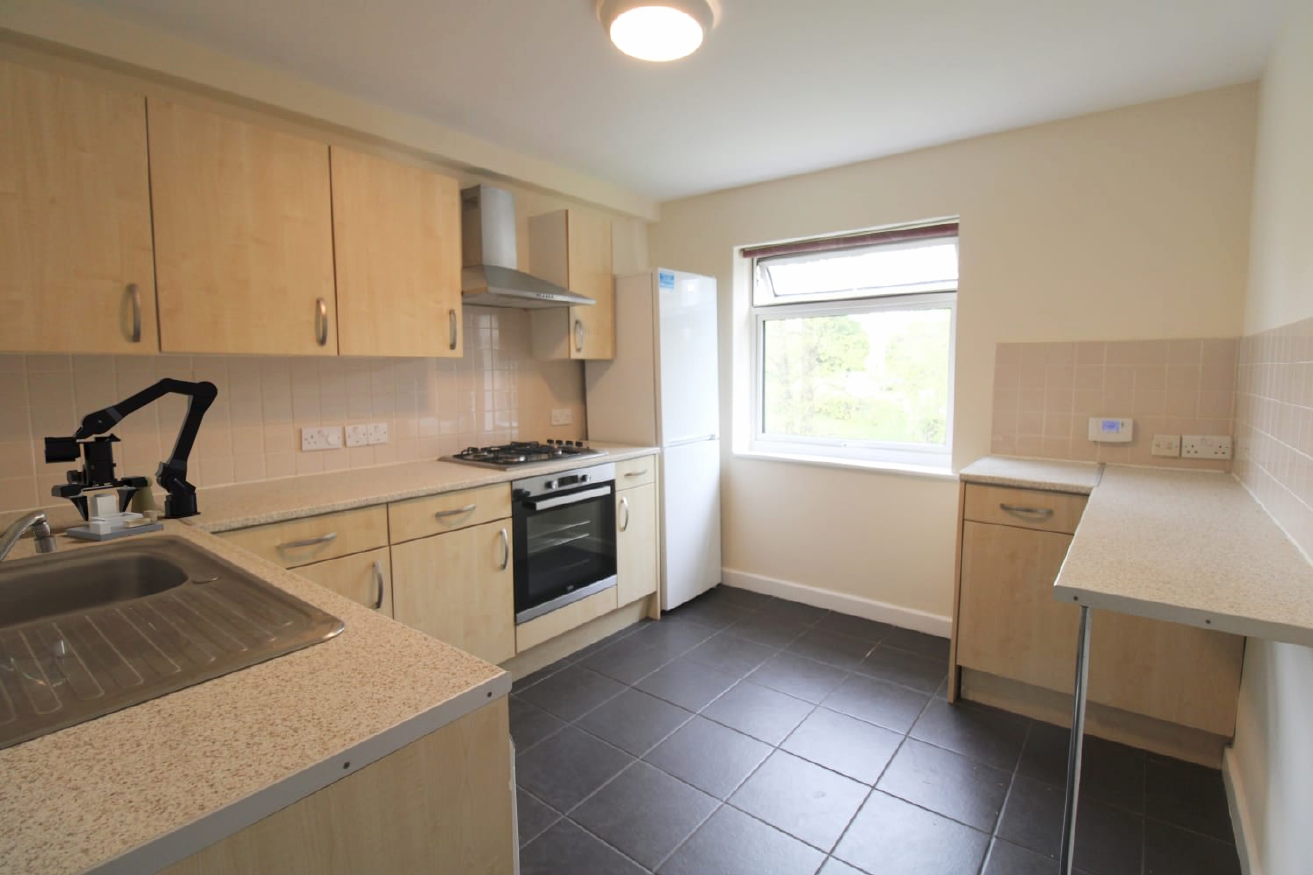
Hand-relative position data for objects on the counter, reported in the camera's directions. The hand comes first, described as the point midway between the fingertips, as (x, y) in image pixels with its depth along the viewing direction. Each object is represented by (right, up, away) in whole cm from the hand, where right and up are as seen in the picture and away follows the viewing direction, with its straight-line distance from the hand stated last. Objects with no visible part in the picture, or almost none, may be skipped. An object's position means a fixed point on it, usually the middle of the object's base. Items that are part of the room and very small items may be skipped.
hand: (104, 518), depth 167 cm
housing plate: (+10, -3, -8) cm, 13 cm away
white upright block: (0, -2, 0) cm, 2 cm away
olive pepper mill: (-2, -1, +16) cm, 16 cm away
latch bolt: (+16, -1, -8) cm, 18 cm away
